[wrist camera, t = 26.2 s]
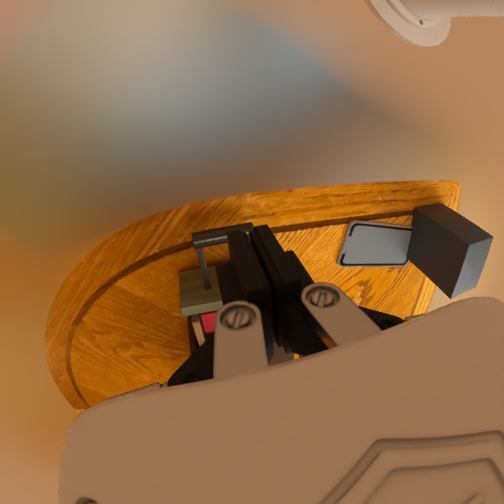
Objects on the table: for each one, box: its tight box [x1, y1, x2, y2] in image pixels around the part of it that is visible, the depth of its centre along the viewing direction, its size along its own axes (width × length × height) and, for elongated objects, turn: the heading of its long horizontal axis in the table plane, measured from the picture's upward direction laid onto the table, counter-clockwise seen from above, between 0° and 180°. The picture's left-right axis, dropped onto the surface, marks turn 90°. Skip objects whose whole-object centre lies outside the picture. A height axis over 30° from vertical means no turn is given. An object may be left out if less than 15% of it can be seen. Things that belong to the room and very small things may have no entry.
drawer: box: [179, 222, 253, 346], centre depth 34 cm, size 20×11×7 cm, turn 5°
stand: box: [406, 204, 493, 299], centre depth 36 cm, size 9×7×12 cm
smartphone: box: [337, 220, 412, 267], centre depth 41 cm, size 7×1×15 cm
